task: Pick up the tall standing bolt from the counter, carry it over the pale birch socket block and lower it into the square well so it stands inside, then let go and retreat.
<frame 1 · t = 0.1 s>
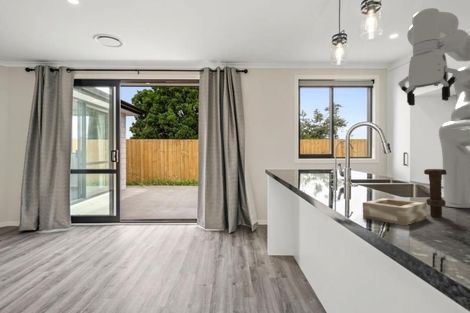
hand: (427, 102, 92), 37 cm above the table, tool pointing down, fingers open, 9 cm apart
socket block: (394, 218, 90), on the table
bolt: (436, 217, 91), on the table
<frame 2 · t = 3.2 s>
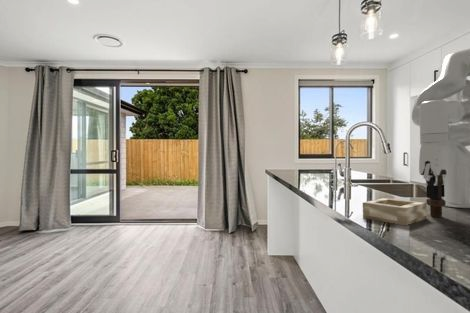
hand: (435, 196, 90), 6 cm above the table, tool pointing down, fingers closed on bolt, 3 cm apart
bolt: (436, 217, 91), on the table, touching gripper
everything else where it was.
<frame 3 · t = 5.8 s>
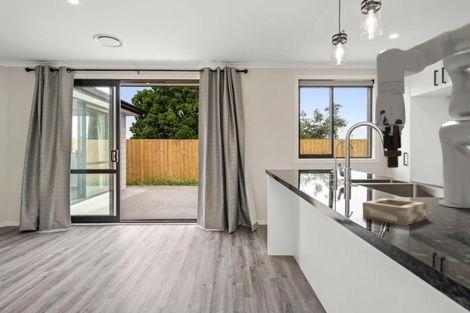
hand: (392, 148, 89), 22 cm above the table, tool pointing down, fingers closed on bolt, 3 cm apart
bolt: (392, 168, 90), point 16 cm above the table, touching gripper
everything else where it was.
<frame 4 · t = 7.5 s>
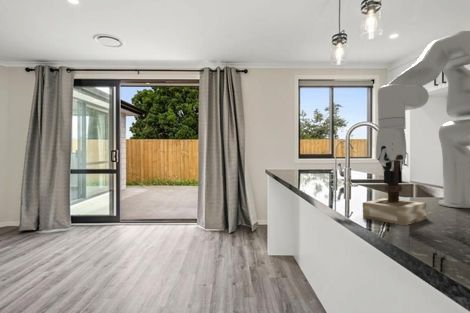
hand: (393, 182, 90), 11 cm above the table, tool pointing down, fingers closed on bolt, 3 cm apart
bolt: (393, 202, 90), point 5 cm above the table, touching gripper
everything else where it was.
when the fingers open (8 cm above the table, at t = 8.9 s): bolt stays where it is, resting on socket block.
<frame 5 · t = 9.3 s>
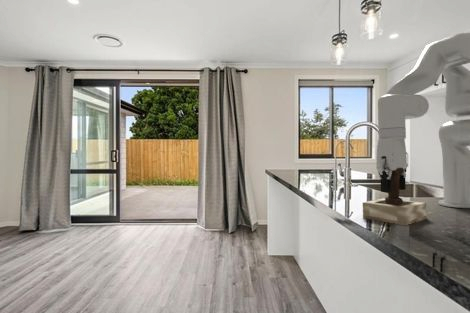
hand: (393, 190, 90), 9 cm above the table, tool pointing down, fingers open, 7 cm apart
bolt: (393, 215, 90), point 1 cm above the table, touching socket block
everything else where it was.
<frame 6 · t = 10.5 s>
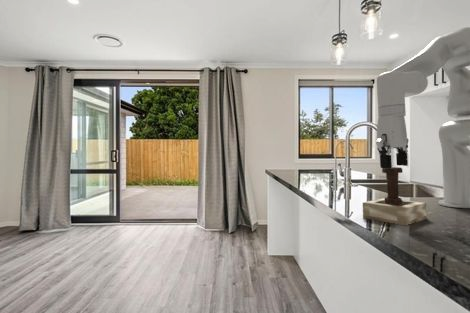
hand: (394, 166, 90), 16 cm above the table, tool pointing down, fingers open, 9 cm apart
nothing on the table moved.
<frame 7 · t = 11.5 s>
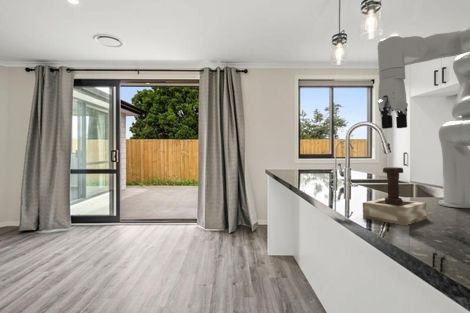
hand: (394, 128, 94), 29 cm above the table, tool pointing down, fingers open, 9 cm apart
nothing on the table moved.
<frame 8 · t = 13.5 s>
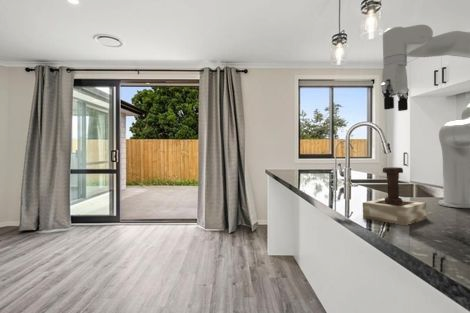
hand: (396, 109, 105), 36 cm above the table, tool pointing down, fingers open, 9 cm apart
nothing on the table moved.
at the end: bolt 0.1 cm off-centre on the socket block, point 0.8 cm above the socket block's base; bolt tilted 0°; the gripper is holding nothing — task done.
